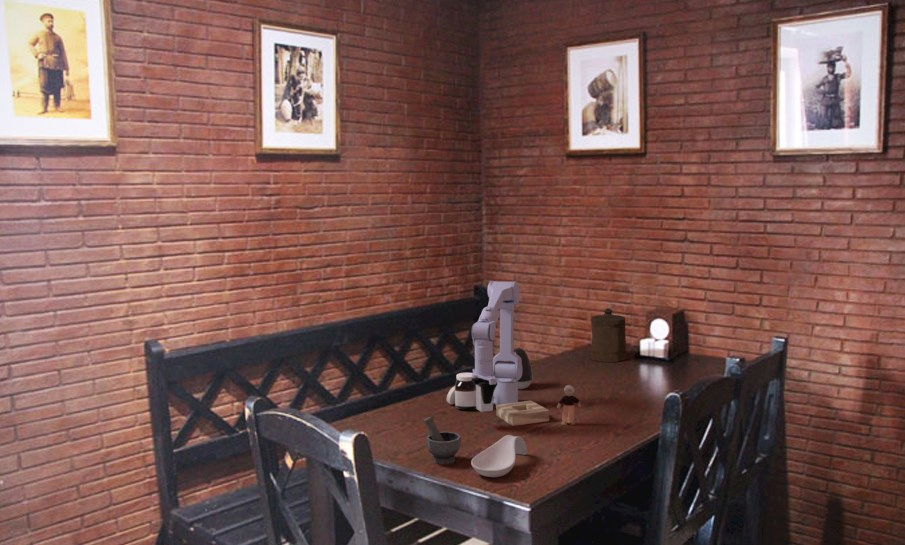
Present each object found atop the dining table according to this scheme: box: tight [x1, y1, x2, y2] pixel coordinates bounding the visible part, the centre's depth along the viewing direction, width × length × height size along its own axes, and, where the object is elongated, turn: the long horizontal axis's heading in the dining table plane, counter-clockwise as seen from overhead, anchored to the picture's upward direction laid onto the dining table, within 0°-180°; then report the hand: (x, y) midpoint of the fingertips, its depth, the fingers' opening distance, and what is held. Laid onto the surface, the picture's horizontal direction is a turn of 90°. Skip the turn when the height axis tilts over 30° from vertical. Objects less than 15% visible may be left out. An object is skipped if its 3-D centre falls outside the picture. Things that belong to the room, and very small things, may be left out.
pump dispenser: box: [509, 347, 534, 390], centre depth 304 cm, size 10×10×15 cm
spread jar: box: [446, 372, 477, 411], centre depth 280 cm, size 12×11×12 cm
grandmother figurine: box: [556, 384, 582, 426], centre depth 258 cm, size 8×4×13 cm, turn 105°
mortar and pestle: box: [423, 416, 462, 465], centre depth 227 cm, size 11×9×12 cm
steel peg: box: [475, 384, 494, 413], centre depth 256 cm, size 4×4×8 cm
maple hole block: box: [495, 400, 550, 427], centre depth 266 cm, size 13×13×4 cm
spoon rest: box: [470, 434, 529, 478], centre depth 221 cm, size 24×12×7 cm, turn 152°
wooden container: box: [590, 308, 627, 363], centre depth 349 cm, size 15×15×22 cm
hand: (484, 401), depth 256 cm, fingers closed on steel peg, 4 cm apart
